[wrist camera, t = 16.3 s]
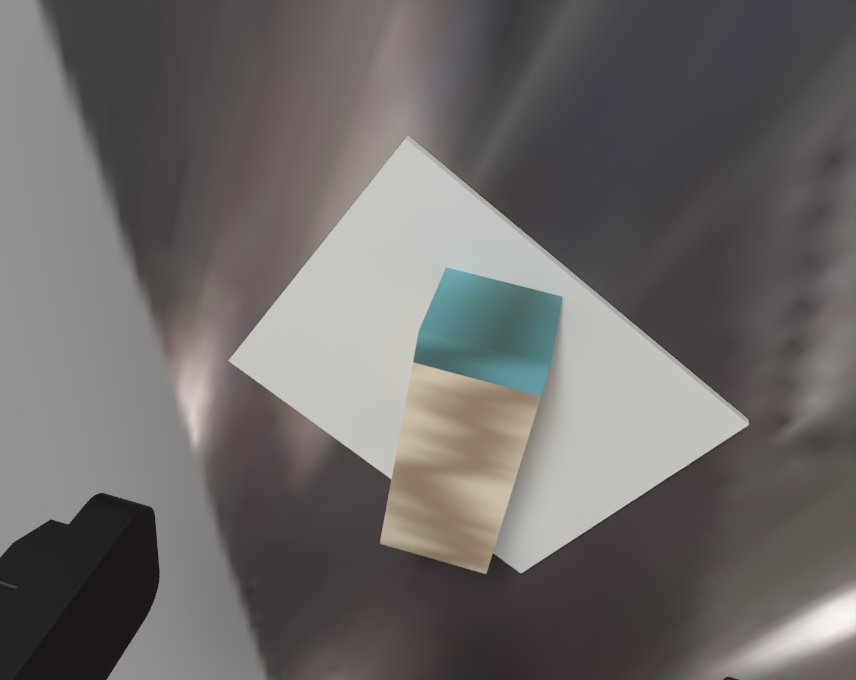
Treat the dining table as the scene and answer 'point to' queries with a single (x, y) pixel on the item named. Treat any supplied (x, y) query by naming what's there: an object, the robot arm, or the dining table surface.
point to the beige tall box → (468, 416)
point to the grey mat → (397, 336)
